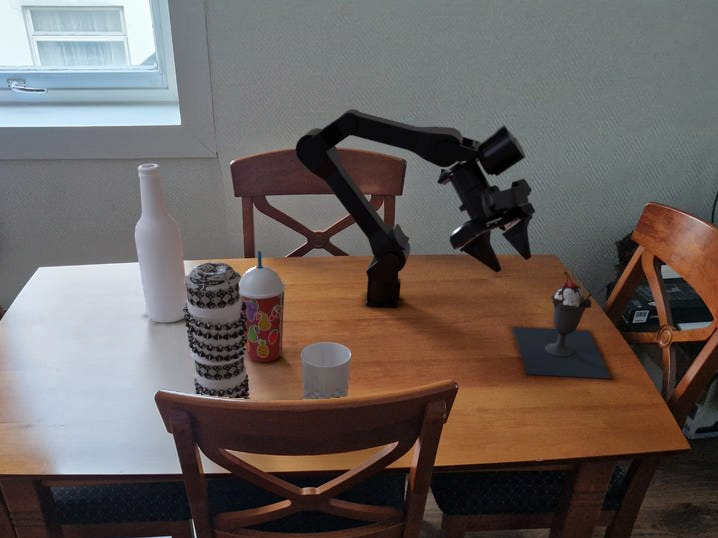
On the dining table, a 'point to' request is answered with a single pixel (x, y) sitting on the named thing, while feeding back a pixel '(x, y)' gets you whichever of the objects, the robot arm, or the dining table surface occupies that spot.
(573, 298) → the sundae
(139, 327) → the dining table surface
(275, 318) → the smoothie
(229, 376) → the decorative candle
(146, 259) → the alcohol
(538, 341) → the dark blue rectangular panel
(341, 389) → the white cup
